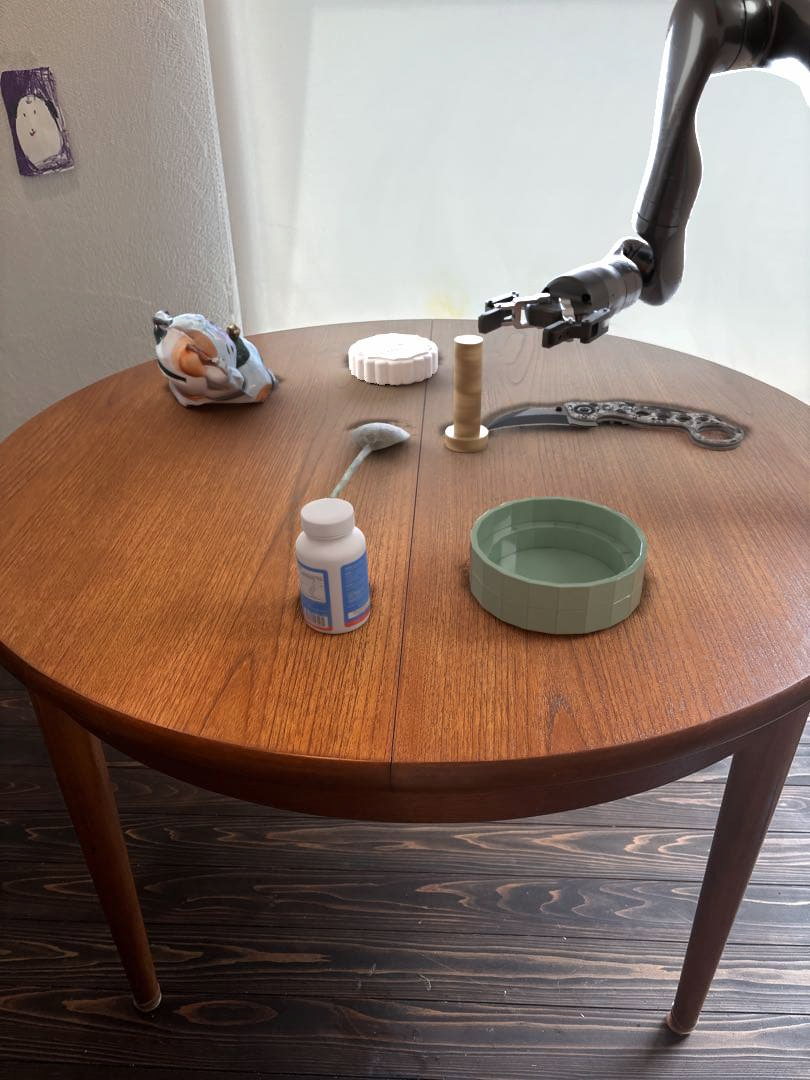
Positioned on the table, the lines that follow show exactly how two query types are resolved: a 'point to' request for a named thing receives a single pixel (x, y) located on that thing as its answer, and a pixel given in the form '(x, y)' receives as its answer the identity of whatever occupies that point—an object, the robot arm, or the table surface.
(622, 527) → the bowl
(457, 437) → the muddler
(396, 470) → the table surface
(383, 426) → the soupspoon
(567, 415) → the knife
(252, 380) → the lucky cat figurine
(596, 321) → the robot arm
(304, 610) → the pill bottle
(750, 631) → the table surface
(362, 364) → the mooncake
